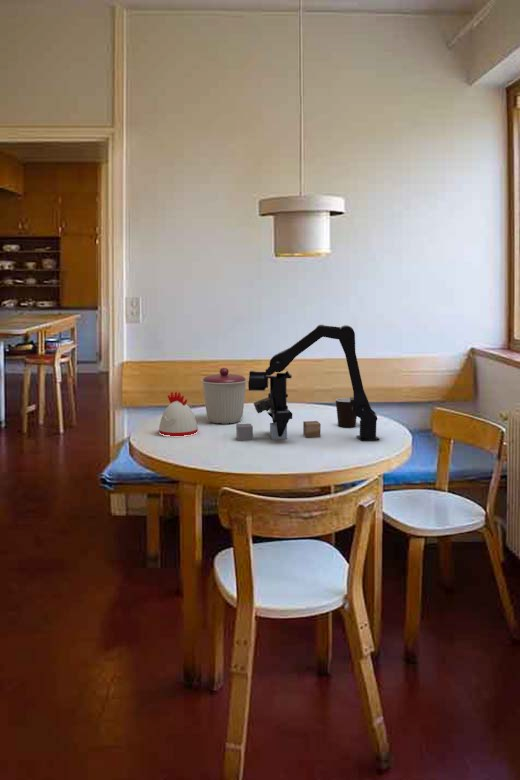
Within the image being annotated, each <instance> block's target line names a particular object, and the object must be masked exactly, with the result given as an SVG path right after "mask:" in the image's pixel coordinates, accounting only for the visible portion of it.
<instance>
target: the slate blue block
mask: <svg viewBox="0 0 520 780" xmlns="http://www.w3.org/2000/svg"><path fill="white" fill-rule="evenodd" d="M269 436H270V438H271V439H272V440H273V441H274V440H287V439H288V424H287V425H286V428H285V430H284V432H283V434H282V436H281V437H279V436H278V431H277V426H276V423H273V422H270V423H269Z"/></svg>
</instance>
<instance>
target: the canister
mask: <svg viewBox="0 0 520 780" xmlns="http://www.w3.org/2000/svg"><path fill="white" fill-rule="evenodd" d="M248 381H249V378H246V377H244V376H243V375H241V374H232V373H230V370H229V369H228V368H227V367H221V368H220V369H219V373H217V374H209V375H207V376H205V377H204V378H201V379H200V382H201V383H202V388H203V389H202V391H203V396H204V406H205V412H206V417H207V420H208V421H210V422H211V423H212V424H213V423H214V424H218V423H222V424H221V425H225V424H226V425H230V424H237V423H238V422H240V421H241V420H242V418H243V415H244V407H245V397H246V390H247V389H246V386H247V383H248ZM229 423H230V424H229Z"/></svg>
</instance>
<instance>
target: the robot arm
mask: <svg viewBox="0 0 520 780" xmlns="http://www.w3.org/2000/svg"><path fill="white" fill-rule="evenodd" d="M321 338H328V339H333V340H339V344H340V346H341V349H343V352H344V356H345V359H346V365H347V369H348V373H349V377H350V383H351V387H352V393H353V397H352V396H351V397H349V398H350V402H351V404H352V412H355V415H356V416H357V418H358V419H360V420H359V435H356V437H355V438H358V439H359V440H360V441H363V442H364V441H366V442H367V441H380V438H379V437H378V436H377V421H378V416H377V413H376V412H375V411H374V410H373V409H372V407H371V404H370V401H369V399H368V396H367V394H366V392H365V390H364V385H363V380H362V376H361V371H360V367H359V362H358V358H357V353H356V334H355V331H354V329H353V327H352V326H350V325H348V324H347V325H346V324H344V325H342V326H332V325H331V326H330V325H325V324H318V325H317V326H316V327H315V328H314V329H312V331H310V332H309V333H307V334H306V335H305V336H303V337H302V338H301V339H300V340H298V341H296V342H295V343H294V344H293V345H291V346H290V347H288V348H287V349H284V350H282V351H279V352H278V353H276V354H274V355H273V356H272V357H271V358H270V361H269V366H268V368H265V371H256V370H249V373H248V375H249V376H248V381H247V384H248V387H247V388H248V391H249V392H250V391H252V392H253V391H254V392H255V391H259V392H260V391H261V392H262V391H264V392H265V391H266V389H268V388H269V393H268V394H267V397H265V398H263V399H260V400H257V401H255V402H253V405H254V409H255V411H256V412H257V414H261V413H263V412H264V411H266V412H267V415H268V416H270V417H271V419H272V423H276V426H277V431H278V436H279V437H281V436H282V434H283V432H284V430H285V428H286V425H287V426H288V423H289V421H290V420H292V419H293V413H292V411H290V409H289V406H288V405H287V403H288V401H287V400H288V399H287V398H288V397H289V394H288V393H287V391H288V389H287V385H288V384H287V383H288V382H287V381H288V380H287V379H292V377H293V375H292V374H291V373H290V372H289V370H286V371H285V372H283V371H284V370H285V369H286V368H287V367H288V366H289V365H290V364H291V363H292V362H293V361H294V360H295V358H296V357H297V356H299V355H300V354H302V353H303V352H304V351H305V350H306V349H307V350H308V348H309V347H311V346H312V345H314V344H315V343H316V342H317V341H319V340H320V339H321ZM275 373H276V375H274V374H275Z"/></svg>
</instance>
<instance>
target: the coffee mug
mask: <svg viewBox="0 0 520 780" xmlns="http://www.w3.org/2000/svg"><path fill="white" fill-rule="evenodd" d="M335 406H336V417H337V425H338V427H339V428H340V429H341V428H342V429H352V428H356V425H357V424H356V423H357V418H358V417H357V416H356V415H355V412H352V404H351V402H350V397H341V398H336V399H335Z"/></svg>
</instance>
